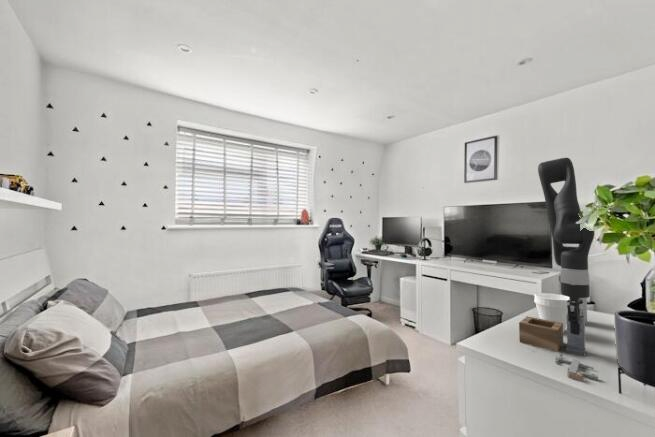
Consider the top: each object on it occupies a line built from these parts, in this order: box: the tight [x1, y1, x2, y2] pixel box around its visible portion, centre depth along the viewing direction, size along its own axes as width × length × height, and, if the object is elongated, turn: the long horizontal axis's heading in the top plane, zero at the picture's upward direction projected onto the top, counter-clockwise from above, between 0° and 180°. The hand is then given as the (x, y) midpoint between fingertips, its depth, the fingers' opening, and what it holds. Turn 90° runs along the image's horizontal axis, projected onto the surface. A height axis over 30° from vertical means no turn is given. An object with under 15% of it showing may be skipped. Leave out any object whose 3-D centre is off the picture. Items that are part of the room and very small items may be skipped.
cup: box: [533, 292, 570, 334], centre depth 117 cm, size 12×12×14 cm
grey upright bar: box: [565, 313, 587, 356], centre depth 97 cm, size 4×4×12 cm
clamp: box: [554, 352, 599, 383], centre depth 84 cm, size 15×2×10 cm
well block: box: [518, 315, 564, 352], centre depth 104 cm, size 11×11×7 cm
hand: (575, 332), depth 97 cm, fingers open, 4 cm apart
